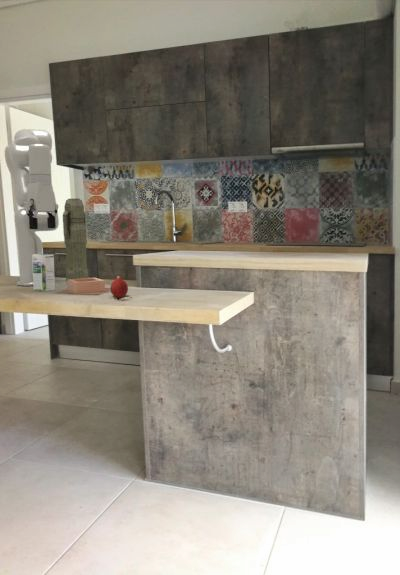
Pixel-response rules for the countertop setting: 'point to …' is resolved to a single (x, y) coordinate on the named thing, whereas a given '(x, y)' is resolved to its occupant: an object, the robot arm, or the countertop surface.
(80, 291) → the terracotta square tray
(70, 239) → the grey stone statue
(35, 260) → the syrup box
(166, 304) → the countertop surface
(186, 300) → the countertop surface
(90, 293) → the board
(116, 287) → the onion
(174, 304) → the countertop surface
